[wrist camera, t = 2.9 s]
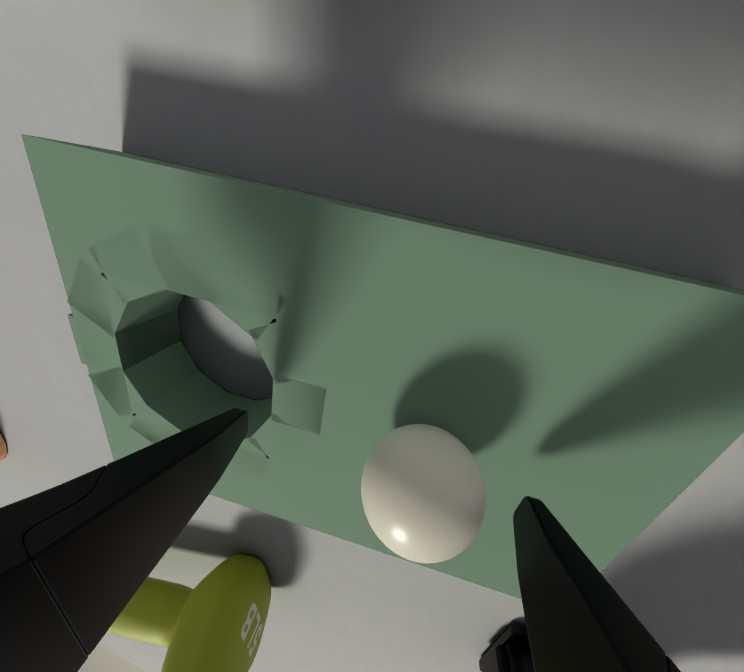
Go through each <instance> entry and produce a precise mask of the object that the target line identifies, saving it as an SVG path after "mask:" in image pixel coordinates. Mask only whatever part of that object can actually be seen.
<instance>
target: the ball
mask: <svg viewBox="0 0 744 672" xmlns="http://www.w3.org/2000/svg"><path fill="white" fill-rule="evenodd" d="M361 497H362V503H363V508H364V511H365V514H366V517H367V519H368V522H369V524H370V526H371V528H372V529H373V531H374V532H375V534H376V535H377V537H378V538H379V539H380V540H381V541H382V542H383V543H384V544H385V545H386V547H388V548H389V549H390V550H391V551H393V552H394V553H396V554H397V555H399V556H401V557H403V558H405V559H407V560H410V561H414V562H418V563H427V564H429V563H438V562H443V561H446V560H449V559H451V558H453V557H455V556H457V555H458V554H460V553H461V552H463V551H464V550H465V549H466V548H467V547H468V546H469V545H470V544H471V542H472V541H473V540H474V538H475V537H476V535H477V533H478V531H479V529H480V527H481V524H482V522H483V517H484V513H485V505H486V492H485V485H484V480H483V477H482V473H481V471H480V468H479V466H478V464H477V462H476V460H475V458H474V457H473V455H472V454H471V452H470V451H469V450H468V448H467V447H466V446H465V445H464V444H463V443H462V442H461V441H460V440H459V439H458V438H456V437H455V436H454V435H452V434H451V433H449V432H447V431H445V430H443V429H441V428H439V427H436V426H432V425H427V424H410V425H405V426H402V427H399V428H397V429H394V430H392V431H391V432H389V433H387V434H386V435H385V436H384V437H382V438H381V439H380V440H379V441H378V442H377V444H376V445H375V446H374V447H373V449H372V450H371V452H370V454H369V456H368V457H367V460H366V463H365V466H364V468H363V473H362V479H361Z"/></svg>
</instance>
